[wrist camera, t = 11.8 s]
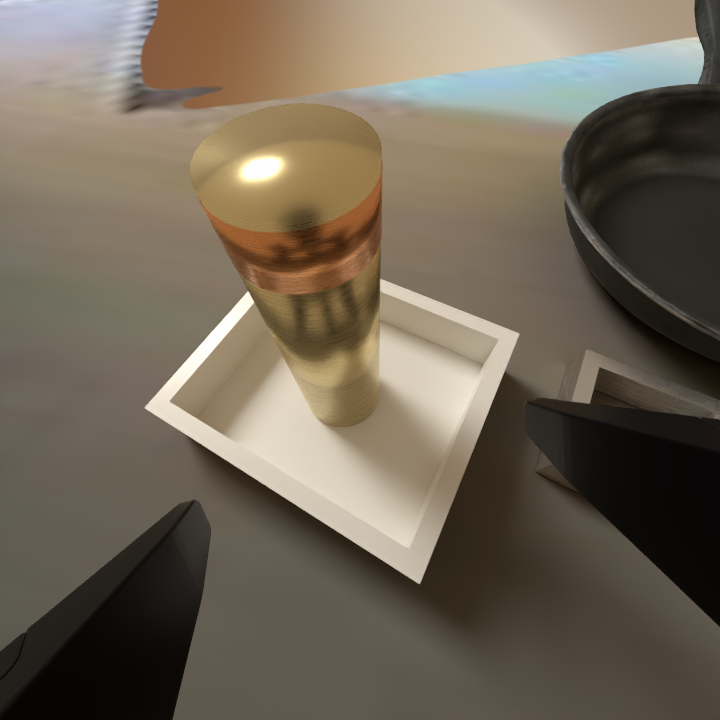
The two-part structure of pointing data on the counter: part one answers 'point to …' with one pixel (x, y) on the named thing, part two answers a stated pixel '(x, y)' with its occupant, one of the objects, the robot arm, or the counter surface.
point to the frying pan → (655, 199)
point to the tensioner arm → (625, 394)
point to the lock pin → (305, 242)
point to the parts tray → (358, 442)
